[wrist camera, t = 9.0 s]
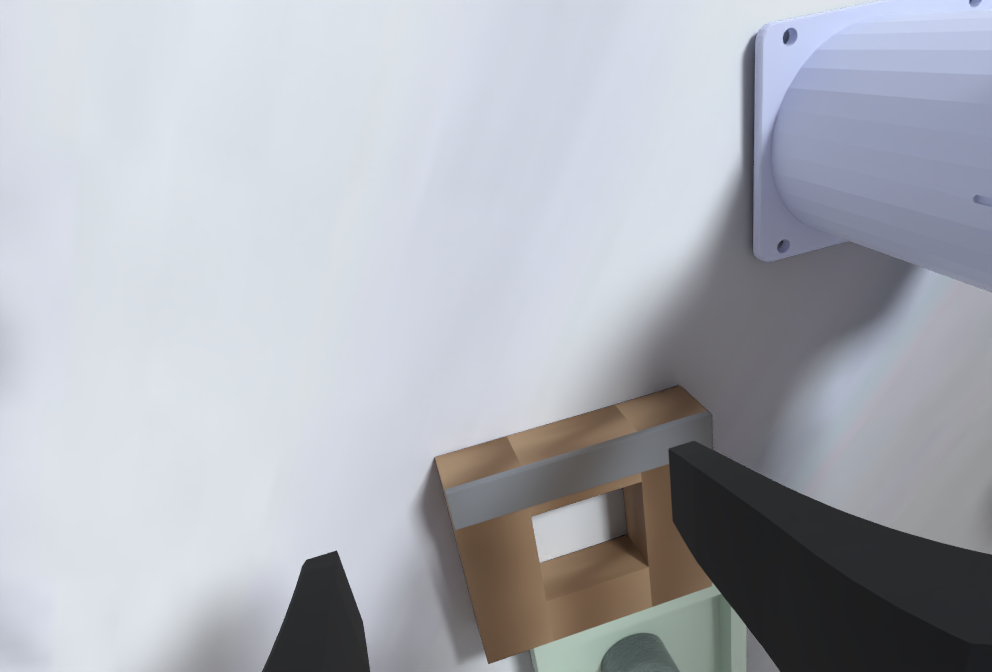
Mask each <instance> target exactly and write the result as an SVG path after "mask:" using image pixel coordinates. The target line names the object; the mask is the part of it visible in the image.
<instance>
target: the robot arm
mask: <svg viewBox="0 0 992 672" xmlns="http://www.w3.org/2000/svg"><path fill="white" fill-rule="evenodd" d="M786 30H788V31H789V40H788V41H787V43H786V44H784V43H783V34H784V32H785V31H786ZM782 240H783V244H782V246H781V248H780V249H778V250H777V246H778V244H779V242H780V241H782ZM848 241H850V242H853V243H856V244H859V245H861V246H864V247H867V248H870V249H872V250H875V251H878V252H881V253H884V254H886V255H889V256H892V257H895V258H898V259H900V260H903V261H906V262H909V263H911V264H914V265H917V266H920V267H923V268H925V269H928V270H931V271H934V272H937V273H939V274H942V275H945V276H948V277H950V278H953V279H956V280H959V281H962V282H964V283H967V284H970V285H973V286H976V287H978V288H981V289H984V290H987V291H989V292H992V0H971V3H970V4H969V0H880V1H875V2H870V3H865V4H860V5H855V6H850V7H845V8H840V9H835V10H830V11H825V12H820V13H815V14H810V15H805V16H800V17H795V18H790V19H785V20H780V21H775V22H770V23H768V24H765V25H764V26H763V27H762V28H761V29H760V30H759V32H758V34H757V36H756V41H755V116H754V219H753V252H754V255H755V257H756V258H757V259H759V260H761V261H764V262H772V261H776V260H780V259H784V258H787V257H791V256H795V255H799V254H802V253H806V252H810V251H814V250H818V249H821V248H825V247H829V246H833V245H836V244H840V243H844V242H848ZM668 452H669V469H670V486H671V503H672V520H673V523H674V524H675V526H676V528H677V530H678V531H679V533H680V535H681V537H682V538H683V540H684V542H685V544H686V545H687V547H688V548H689V550H690V552H691V553H692V555H693V557H694V558H695V560H696V562H697V563H698V564H699V566H700V567H701V568H702V569H703V571H704V572H705V573H706V575H707V576H708V577H709V579H710V580H711V581H712V583H713V584H714V585H715V586H716V588H717V589H718V590H719V592H720V593H721V594H722V595H723V597H724V598H725V599H726V601H727V602H728V603H729V604H730V606H731V607H732V608H733V609H734V611H735V612H736V613H737V615H738V616H739V617H740V618H741V620H742V621H743V622H744V624H745V625H746V626H747V627H748V629H749V630H750V631H751V632H752V634H753V635H754V636H755V638H756V639H757V640H758V641H759V643H760V644H761V645H762V646H763V648H764V649H765V651H766V652H767V653H768V655H769V656H770V658H771V659H772V660H773V662H774V663H775V665H776V666H777V667H778V669H779V670H780V672H992V555H991V554H986V553H981V552H977V551H972V550H968V549H964V548H959V547H955V546H951V545H947V544H943V543H940V542H936V541H932V540H929V539H925V538H922V537H918V536H915V535H911V534H908V533H904V532H901V531H898V530H895V529H891V528H888V527H885V526H882V525H879V524H877V523H874V522H871V521H868V520H865V519H862V518H860V517H857V516H854V515H851V514H848V513H846V512H843V511H841V510H838V509H836V508H833V507H831V506H828V505H826V504H824V503H821V502H819V501H817V500H814V499H812V498H810V497H807V496H805V495H803V494H800V493H798V492H796V491H794V490H792V489H790V488H787V487H785V486H783V485H781V484H779V483H777V482H775V481H773V480H771V479H769V478H767V477H765V476H763V475H761V474H759V473H757V472H755V471H753V470H751V469H749V468H747V467H745V466H743V465H741V464H739V463H737V462H735V461H733V460H731V459H729V458H727V457H725V456H723V455H722V454H720V453H718V452H716V451H714V450H712V449H710V448H708V447H706V446H704V445H702V444H700V443H698V442H696V441H691V442H688V443H685V444H682V445H678V446H675V447H672V448H669V449H668ZM262 672H370V668H369V660H368V653H367V646H366V639H365V632H364V626H363V621H362V618H361V615H360V613H359V610H358V607H357V604H356V602H355V599H354V596H353V593H352V591H351V588H350V585H349V582H348V580H347V577H346V574H345V571H344V569H343V566H342V563H341V560H340V558H339V555H338V552H337V551H334V552H331V553H327V554H324V555H321V556H318V557H314V558H311V559H308V560H306V561H305V563H304V564H303V566H302V569H301V572H300V575H299V578H298V581H297V585H296V588H295V591H294V594H293V596H292V599H291V602H290V605H289V607H288V610H287V613H286V616H285V618H284V621H283V623H282V626H281V628H280V631H279V633H278V636H277V638H276V641H275V643H274V645H273V648H272V650H271V653H270V655H269V657H268V660H267V662H266V664H265V666H264V668H263V671H262Z"/></svg>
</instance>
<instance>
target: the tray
mask: <svg viewBox="0 0 992 672" xmlns="http://www.w3.org/2000/svg"><path fill="white" fill-rule="evenodd" d="M638 633H651V634H654V635H657V636H658V637H659V638H660V639H661V640H662V642H663V643H664V645H665V647H666V649H667V650H668V652H669V654H670V655H671V657H672V659H673V660H674V662H675V664H676V665H677V667H678V669H679V671H680V672H746V638H747V626H746V625H745V624H744V622H743V621H742V620H741V618H740V617H739V616H738V615H737V613H736V612H735V611H734V609H733V608H732V607H731V606H730V604H729V603H728V602H727V601H726V599H725V598H724V597H723V595H722V594H721V593H720V592H719V590H718V589H717V588H716V586H715V585H714V584H713V583H712V586H711V587H708V588H706V589H703V590H700V591H697V592H694V593H691V594H688V595H685V596H683V597H680V598H677V599H674V600H671V601H668V602H665V603H662V604H660V605H657V606H654V607H651V608H648V609H645V610H642V611H640V612H637V613H634V614H631V615H628V616H625V617H622V618H619V619H617V620H614V621H611V622H608V623H605V624H602V625H599V626H596V627H594V628H591V629H588V630H585V631H582V632H579V633H576V634H573V635H571V636H568V637H565V638H562V639H559V640H556V641H553V642H550V643H548V644H545V645H542V646H539V647H536V648H533V649H530V654H531V659H532V664H533V669H534V672H602V671H601V665H602V661H603V658H604V656H605V655H606V653H607V652H608V651H609V650H610V649H611V647H613V646H614V645H615V644H616V643H617V642H619V641H621V640H622V639H624V638H626V637H628V636H631V635H634V634H638Z"/></svg>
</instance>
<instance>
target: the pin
mask: <svg viewBox="0 0 992 672" xmlns="http://www.w3.org/2000/svg"><path fill="white" fill-rule="evenodd" d="M601 671H602V672H680V671H679V669H678V667H677V665H676V664H675V662H674V660H673V659H672V657H671V655H670V654H669V652H668V650H667V649H666V647H665V645H664V643H663V642H662V640H661V639H660V638H659V637H658V636H657V635H654V634H651V633H638V634H634V635H631V636H628V637H626V638H624V639H622V640H621V641H619V642H617V643H616V644H615V645H614V646H613V647H611V649H610V650H609V651H608V652H607V653H606V655H605V656H604V658H603V661H602V665H601Z"/></svg>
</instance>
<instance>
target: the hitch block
mask: <svg viewBox="0 0 992 672" xmlns="http://www.w3.org/2000/svg"><path fill="white" fill-rule="evenodd" d="M691 441H696V442H698V443H700V444H702V445H704V446H706V447H708V448H710V449H712V450H713V433H712V414H711V413H710V412H709V411H708V410H707V409H706V408H704V407H703V406H702V405H701V404H700V403H699V402H698V401H697V400H696V399H695V398H694V397H692V396H691V395H690V394H689V393H688V392H687V391H686V390H685V389H684V388H683V387H681V386H677V387H674V388H670V389H667V390H663V391H660V392H656V393H653V394H650V395H646V396H643V397H639V398H636V399H632V400H629V401H626V402H622V403H619V404H615V405H612V406H608V407H605V408H602V409H598V410H595V411H591V412H588V413H584V414H581V415H578V416H574V417H571V418H567V419H564V420H560V421H557V422H554V423H550V424H547V425H543V426H540V427H536V428H533V429H530V430H526V431H523V432H519V433H516V434H513V435H509V436H506V437H502V438H499V439H495V440H492V441H489V442H485V443H482V444H478V445H475V446H471V447H468V448H465V449H461V450H458V451H454V452H451V453H447V454H444V455H441V456H437V457H435V460H436V464H437V468H438V472H439V476H440V480H441V484H442V488H443V492H444V496H445V500H446V504H447V508H448V512H449V516H450V520H451V523H452V527H453V531H454V535H455V539H456V543H457V547H458V551H459V555H460V559H461V563H462V567H463V571H464V575H465V579H466V583H467V587H468V590H469V594H470V598H471V602H472V606H473V610H474V614H475V618H476V622H477V626H478V629H479V633H480V636H481V640H482V643H483V647H484V650H485V654H486V657H487V661H488V664H490V663H493V662H496V661H499V660H502V659H505V658H507V657H510V656H513V655H516V654H519V653H522V652H525V651H528V650H530V649H533V648H536V647H539V646H542V645H545V644H548V643H550V642H553V641H556V640H559V639H562V638H565V637H568V636H571V635H573V634H576V633H579V632H582V631H585V630H588V629H591V628H594V627H596V626H599V625H602V624H605V623H608V622H611V621H614V620H617V619H619V618H622V617H625V616H628V615H631V614H634V613H637V612H640V611H642V610H645V609H648V608H651V607H654V606H657V605H660V604H662V603H665V602H668V601H671V600H674V599H677V598H680V597H683V596H685V595H688V594H691V593H694V592H697V591H700V590H703V589H706V588H708V587H711V586H712V581H711V580H710V579H709V577H708V576H707V575H706V573H705V572H704V571H703V569H702V568H701V567H700V566H699V564H698V563H697V562H696V560H695V558H694V557H693V555H692V553H691V552H690V550H689V548H688V547H687V545H686V544H685V542H684V540H683V538H682V537H681V535H680V533H679V531H678V530H677V528H676V526H675V524H674V523H673V520H672V503H671V486H670V469H669V452H668V449H669V448H672V447H675V446H678V445H682V444H685V443H688V442H691ZM620 488H623V493H624V503H625V513H626V523H627V534H628V535H625V536H622V537H619V538H616V539H613V540H610V541H607V542H604V543H600V544H597V545H594V546H591V547H588V548H585V549H582V550H579V551H576V552H573V553H570V554H567V555H564V556H561V557H558V558H555V559H552V560H548V561H545V562H542V563H539V558H538V552H537V547H536V541H535V536H534V530H533V525H532V519H531V516H534V515H537V514H541V513H544V512H547V511H550V510H553V509H557V508H560V507H563V506H566V505H569V504H572V503H576V502H579V501H582V500H585V499H588V498H592V497H595V496H598V495H601V494H604V493H607V492H611V491H614V490H617V489H620Z"/></svg>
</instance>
